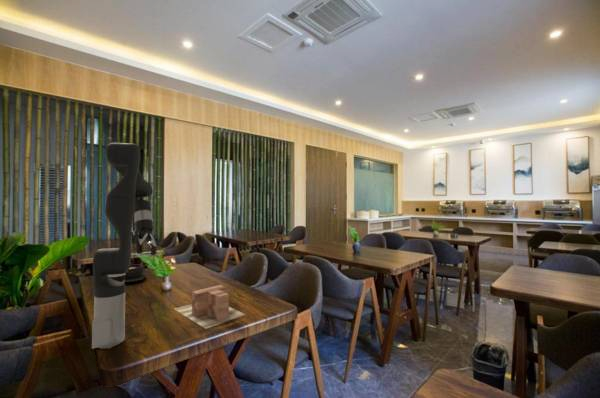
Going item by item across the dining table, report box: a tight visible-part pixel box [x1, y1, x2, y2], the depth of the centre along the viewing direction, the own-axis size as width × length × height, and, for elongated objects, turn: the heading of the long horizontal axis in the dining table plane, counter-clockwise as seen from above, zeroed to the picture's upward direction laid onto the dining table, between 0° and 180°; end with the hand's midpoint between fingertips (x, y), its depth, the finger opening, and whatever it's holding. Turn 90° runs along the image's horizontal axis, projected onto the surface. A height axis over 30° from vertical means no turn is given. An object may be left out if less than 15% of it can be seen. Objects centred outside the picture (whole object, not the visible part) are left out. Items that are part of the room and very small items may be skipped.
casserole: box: [124, 263, 147, 283], centre depth 178 cm, size 25×19×8 cm
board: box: [174, 303, 246, 330], centre depth 126 cm, size 29×19×1 cm, turn 47°
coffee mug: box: [108, 274, 125, 284], centre depth 153 cm, size 12×9×10 cm
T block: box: [191, 284, 230, 321], centre depth 123 cm, size 14×14×10 cm
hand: (147, 254), depth 129 cm, fingers open, 8 cm apart
